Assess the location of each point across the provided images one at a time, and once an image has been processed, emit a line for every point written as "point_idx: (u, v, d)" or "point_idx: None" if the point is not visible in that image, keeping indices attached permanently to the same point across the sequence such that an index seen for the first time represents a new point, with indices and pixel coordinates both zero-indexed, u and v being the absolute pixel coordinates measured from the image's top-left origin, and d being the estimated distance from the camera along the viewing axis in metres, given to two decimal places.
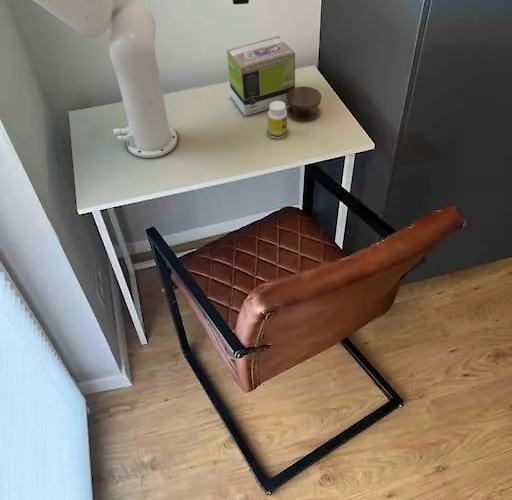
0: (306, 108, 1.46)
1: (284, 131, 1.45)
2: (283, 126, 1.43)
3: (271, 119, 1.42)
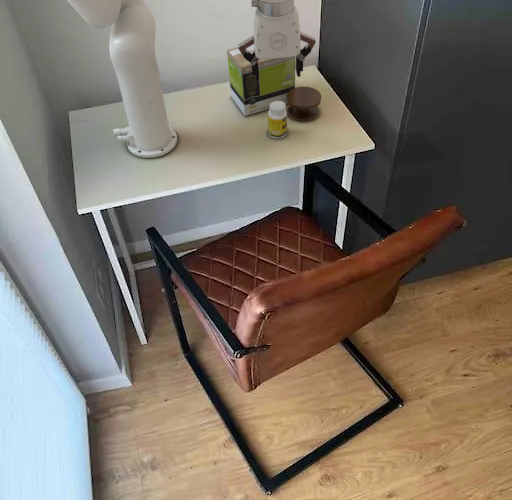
0: (306, 108, 1.46)
1: (284, 131, 1.45)
2: (283, 126, 1.43)
3: (271, 119, 1.42)
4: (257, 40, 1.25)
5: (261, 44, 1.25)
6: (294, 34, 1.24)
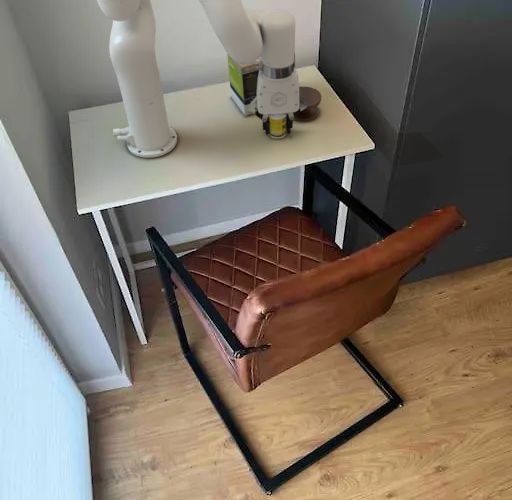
0: (306, 108, 1.46)
1: (284, 131, 1.45)
2: (283, 126, 1.43)
3: (271, 119, 1.42)
4: (260, 98, 1.36)
5: (263, 102, 1.36)
6: (294, 93, 1.35)
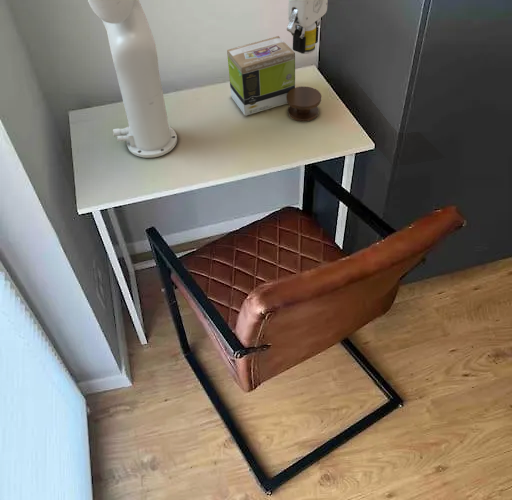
0: (306, 108, 1.46)
1: None
2: (315, 35, 1.36)
3: (308, 32, 1.33)
4: (306, 9, 1.26)
5: (308, 11, 1.27)
6: None
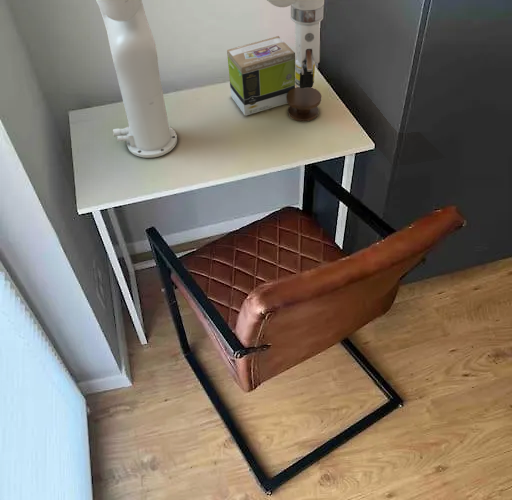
0: (306, 108, 1.46)
1: None
2: None
3: (313, 66, 1.41)
4: (319, 46, 1.34)
5: None
6: None
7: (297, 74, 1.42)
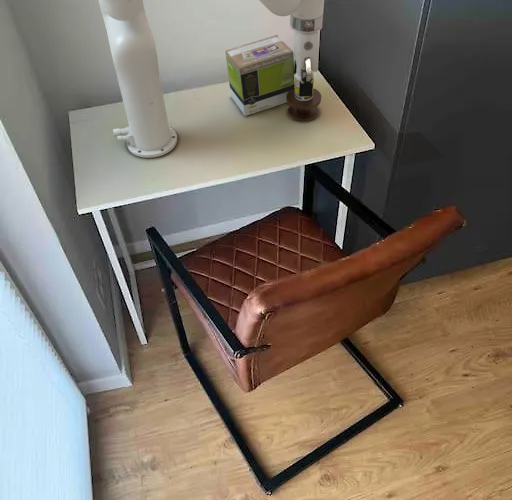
0: (306, 108, 1.46)
1: None
2: None
3: None
4: None
5: None
6: None
7: (296, 87, 1.45)
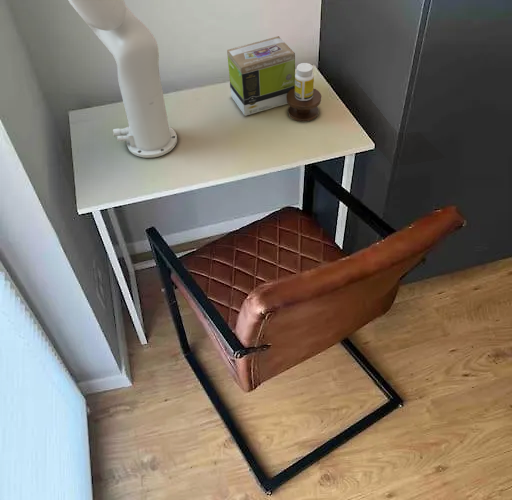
0: (306, 108, 1.46)
1: None
2: None
3: (312, 80, 1.44)
4: None
5: None
6: None
7: (296, 87, 1.45)
